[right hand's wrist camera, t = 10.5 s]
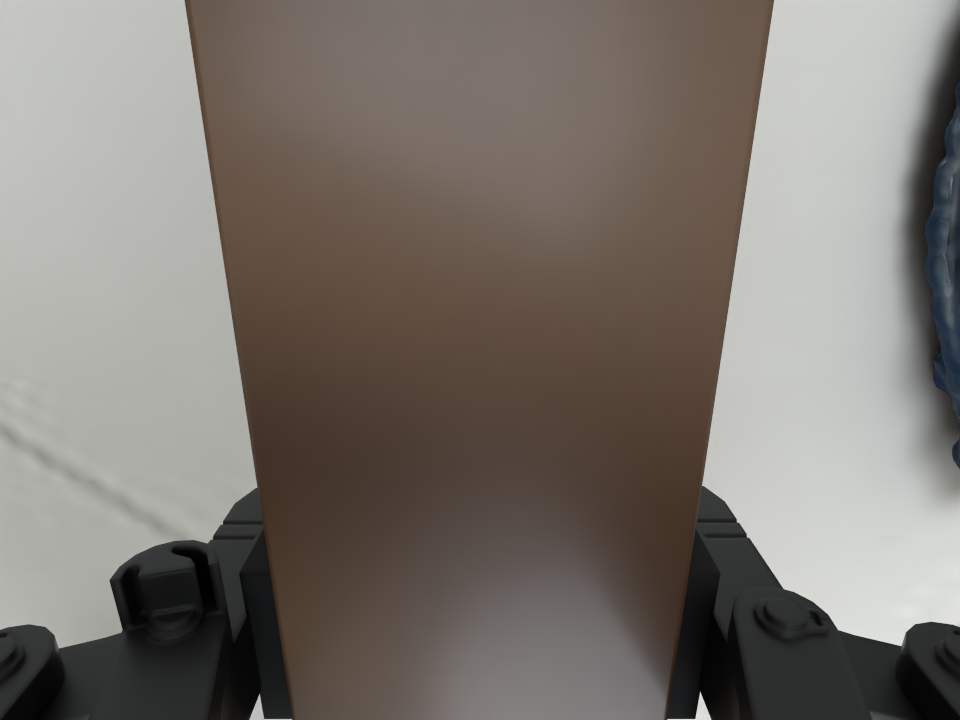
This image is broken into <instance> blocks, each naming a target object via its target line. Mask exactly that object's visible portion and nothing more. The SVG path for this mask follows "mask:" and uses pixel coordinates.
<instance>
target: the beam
mask: <svg viewBox="0 0 960 720" xmlns="http://www.w3.org/2000/svg"><path fill="white" fill-rule="evenodd" d="M773 3H774V0H185V5H186V12H187V18H188V25H189V32H190V38H191V45H192V52H193V58H194V65H195V72H196V79H197V85H198V92H199V99H200V105H201V112H202V119H203V125H204V132H205V139H206V145H207V152H208V159H209V165H210V172H211V179H212V186H213V192H214V199H215V206H216V212H217V219H218V226H219V232H220V239H221V246H222V252H223V259H224V266H225V272H226V279H227V286H228V293H229V299H230V306H231V313H232V319H233V326H234V333H235V339H236V346H237V353H238V359H239V366H240V373H241V380H242V386H243V393H244V400H245V406H246V413H247V420H248V426H249V433H250V440H251V446H252V453H253V460H254V466H255V473H256V480H257V487H258V493H259V500H260V507H261V513H262V520H263V527H264V533H265V540H266V547H267V553H268V560H269V567H270V573H271V580H272V587H273V594H274V600H275V607H276V614H277V620H278V627H279V634H280V640H281V647H282V654H283V660H284V667H285V674H286V680H287V687H288V694H289V701H290V707H291V714H292V720H667V718H668V711H669V704H670V697H671V691H672V684H673V677H674V670H675V664H676V657H677V650H678V643H679V637H680V630H681V623H682V616H683V610H684V603H685V596H686V590H687V583H688V576H689V569H690V563H691V556H692V549H693V542H694V536H695V529H696V522H697V515H698V509H699V502H700V495H701V488H702V482H703V475H704V468H705V461H706V455H707V448H708V441H709V435H710V428H711V421H712V414H713V408H714V401H715V394H716V387H717V381H718V374H719V367H720V360H721V354H722V347H723V340H724V333H725V327H726V320H727V313H728V306H729V300H730V293H731V286H732V279H733V273H734V266H735V259H736V253H737V246H738V239H739V232H740V226H741V219H742V212H743V205H744V199H745V192H746V185H747V178H748V172H749V165H750V158H751V151H752V145H753V138H754V131H755V124H756V118H757V111H758V104H759V98H760V91H761V84H762V77H763V71H764V64H765V57H766V50H767V44H768V37H769V30H770V23H771V17H772V10H773Z"/></svg>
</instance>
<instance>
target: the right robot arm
mask: <svg viewBox="0 0 960 720" xmlns="http://www.w3.org/2000/svg"><path fill="white" fill-rule="evenodd" d="M110 584H111V588H112V591H113V595H114V599H115V602H116V606H117V610H118V614H119V617H120V621H121V625H122V628H123V631H122V633H119V634H116V635H113V636H110V637H106V638H102V639H98V640H94V641H90V642H86V643H81V644H77V645H73V646H69V647H64V648H60V649H58V645H57V642H56V639H55V636H54V635H53V634H52V633H51V632H50V631H49V630H48V629H47V628H46V627H42V626H35V625H22V626H15V627H8V628H5V629H2V630H0V720H249V719H250V716H251V714H252V711H253V709H254V706H255V704H256V701H257V699H258V696H259V694H260V697H261V703H262V708H263V714H264V719H292V714H291V707H290V701H289V694H288V687H287V680H286V674H285V667H284V660H283V654H282V647H281V640H280V634H279V627H278V620H277V614H276V607H275V600H274V594H273V587H272V580H271V573H270V567H269V560H268V553H267V547H266V540H265V533H264V527H263V520H262V513H261V507H260V500H259V493H258V488H255V489H254V490H253V491H251V492H250V493H249V494H247V495H246V496H245V497H243V498H242V499H240V500H239V501H238V502H236V503H235V504H234V506H233V507H232V509H231V510H230V512H229V513H228V515H227V516H226V518H225V519H224V521H223V525H220V527H219V528H218V530H217V531H216V533H215V534H214V536H213V540H210V542H209V543H208V544H207V543H203V542H199V541H195V540H187V541H173V542H169V543H165V544H161V545H157V546H154V547H152V548H150V549H148V550H145V551H143V552H141V553H139V554H137V555H135V556H134V557H132V558H131V559H130V560H128V561H127V562H126V563H124V564H123V565H121V566H120V567H119V568H118V570H117V571H116V572H115V574H114V575H113V576H112V578H111V579H110ZM700 692H701V694H702V697H703V699H704V702H705V704H706V707H707V709H708V712H709V714H710V717H711V720H960V627H957V626H954V625H950V624H943V623H936V622H927V623H921V624H915V625H914V626H913V627H912V628H911V629H909V630H908V631H907V632H906V634H905V637H904V640H903V644H902V646H898V645H894V644H889V643H885V642H881V641H877V640H872V639H868V638H864V637H859V636H855V635H852V634H849V633H845V632H842V631H839V630H838V629H837V628H836V626H835V625H834V623H833V622H832V620H831V619H830V617H829V615H828V614H827V613H825V612H824V611H823V610H822V609H821V608H819V607H818V606H817V605H816V604H815V603H813V602H812V601H810V600H808V599H806V598H804V597H802V596H800V595H798V594H796V593H795V592H791V591H788V590H784V589H783V587H782V586H781V585H780V583H779V582H778V580H777V579H776V577H775V576H774V574H773V573H772V571H771V570H770V568H769V567H768V565H767V564H766V562H765V561H764V559H763V558H762V556H761V555H760V553H759V552H758V550H757V549H756V547H755V546H754V544H753V543H752V541H751V540H750V538H747V534H746V532H745V531H744V530H743V528H742V527H741V525H740V524H739V523H737V519H736V518H735V516H734V515H733V513H732V512H731V510H730V509H729V507H728V506H727V504H726V503H725V501H723V500H722V499H721V498H719V497H718V496H716V495H715V494H714V493H712V492H711V491H710V490H708V489H707V488H705V487H704V486H702V488H701V495H700V502H699V509H698V515H697V522H696V529H695V536H694V542H693V549H692V556H691V563H690V569H689V576H688V583H687V590H686V596H685V603H684V610H683V616H682V623H681V630H680V637H679V643H678V650H677V657H676V664H675V670H674V677H673V684H672V691H671V697H670V704H669V711H668V718H667V719H695V717H696V711H697V706H698V700H699V694H700Z"/></svg>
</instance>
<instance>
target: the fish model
mask: <svg viewBox="0 0 960 720" xmlns="http://www.w3.org/2000/svg"><path fill="white" fill-rule="evenodd" d="M955 95H956V109H955V112H954V114H953V117H952V119H951V121H950V123H949V125H948V126H947V128H946V131H945V137H944V142H945V148H946V156H945V157H944V159H943V160H942V161H941V162H940V163H939V164H938V166H937V171H936V176H935V184H934V206H933V209H932V212H931V214H930V216H929V218H928V220H927V222H926V225H925V230H924V232H925V236H926V241H927V246H928V251H929V252H928V255H927V258H926V261H925V274H926V278H927V281H928V283H929V285H930V287H931V289H932V291H933V301H932V307H931V310H932V315H933V318H934V321H935V324H936V329H937V333H938V336H939V339H940V342H941V344H940V345H939V346H938V347H939V348H941V352H940V353H939V354H938V355H937V356H936V357H935V358H934V359H932V360H933V362H934V364H935V370H934V377H933V380H934V382H935V385H936V386H937V387H938V388H939V389H941V390H943V391H945V392H946V393H948V394H949V395H950V396H951V398H952V408H953V410H954V412H955V413H956V416H957V420H958V424H959V427H960V79H959V81H958V83H957V86H956V88H955ZM952 456H953V460H954V461H955V463H956V464H957V466H958V467H959V468H960V439H959V440H958V441H957V442H956V443H955V445H954V446H953V449H952Z"/></svg>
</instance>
